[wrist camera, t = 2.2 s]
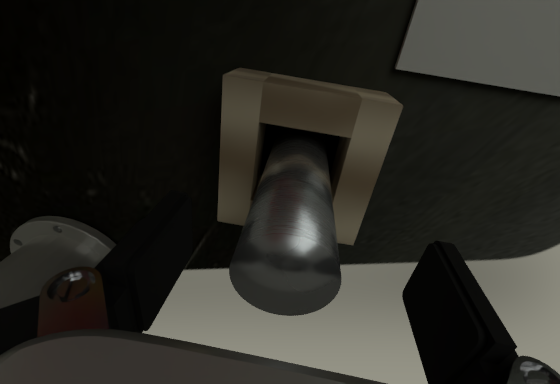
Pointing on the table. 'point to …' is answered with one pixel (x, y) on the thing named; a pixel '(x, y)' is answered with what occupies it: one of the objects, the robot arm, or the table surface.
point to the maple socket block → (307, 116)
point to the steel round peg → (290, 231)
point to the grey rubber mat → (486, 42)
